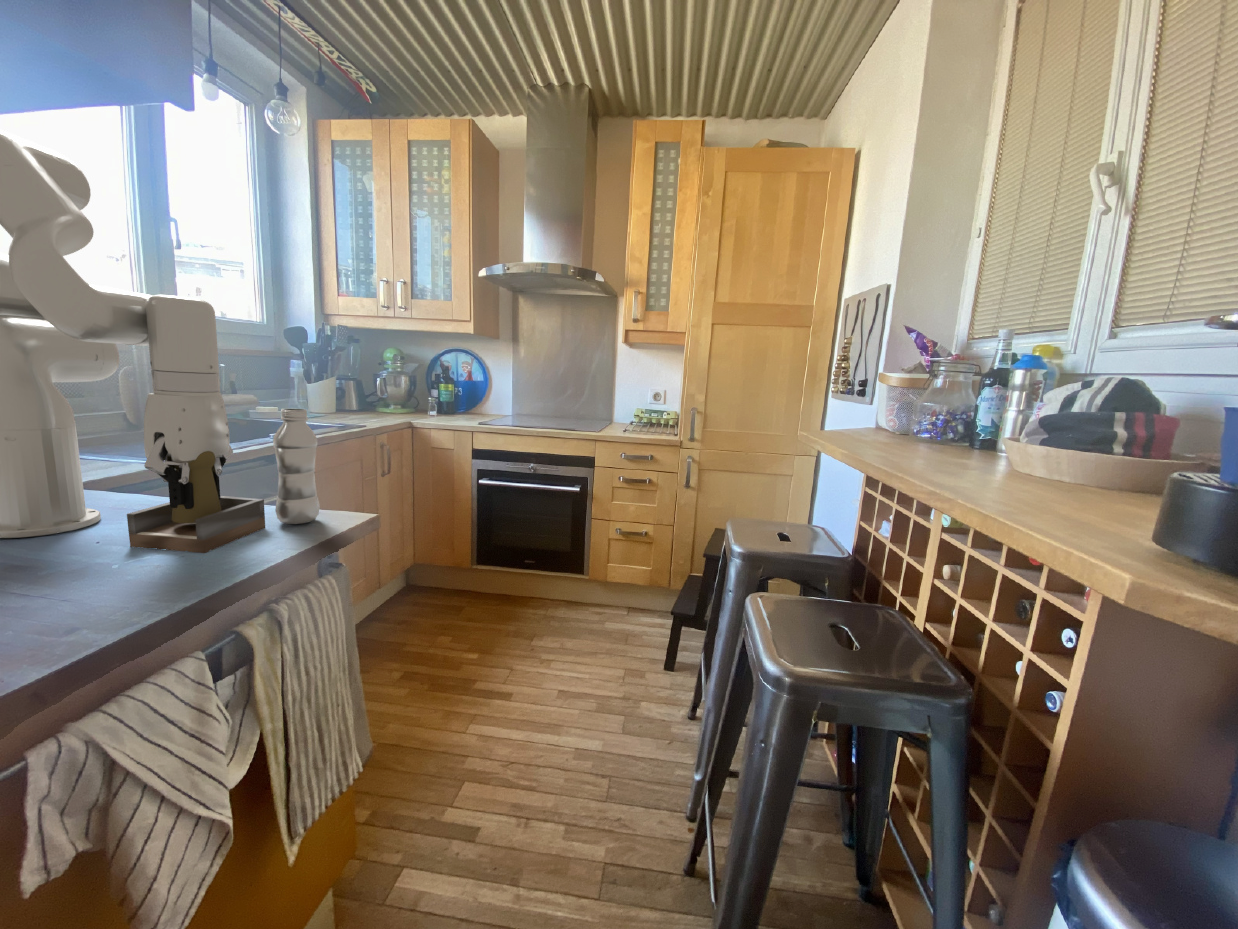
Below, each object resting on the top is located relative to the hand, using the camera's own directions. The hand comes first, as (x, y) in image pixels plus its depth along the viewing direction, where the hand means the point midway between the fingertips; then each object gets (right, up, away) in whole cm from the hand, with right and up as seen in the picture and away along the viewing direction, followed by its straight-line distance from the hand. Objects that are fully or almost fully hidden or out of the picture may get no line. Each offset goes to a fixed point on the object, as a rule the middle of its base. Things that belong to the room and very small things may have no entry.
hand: (196, 502), depth 76 cm
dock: (0, -5, +2) cm, 6 cm away
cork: (0, -2, 0) cm, 2 cm away
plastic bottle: (+9, -5, +11) cm, 15 cm away
